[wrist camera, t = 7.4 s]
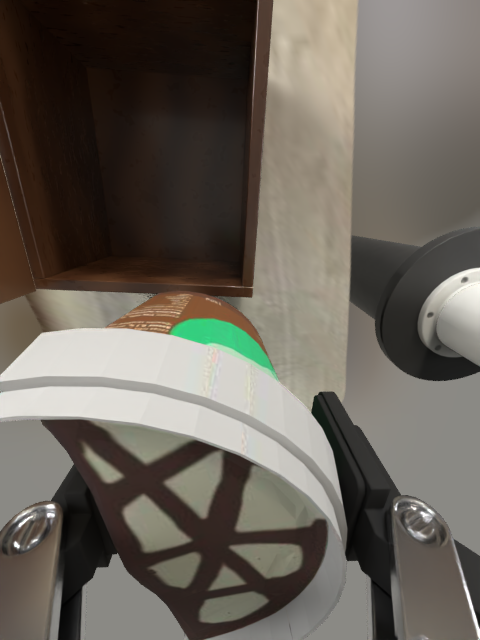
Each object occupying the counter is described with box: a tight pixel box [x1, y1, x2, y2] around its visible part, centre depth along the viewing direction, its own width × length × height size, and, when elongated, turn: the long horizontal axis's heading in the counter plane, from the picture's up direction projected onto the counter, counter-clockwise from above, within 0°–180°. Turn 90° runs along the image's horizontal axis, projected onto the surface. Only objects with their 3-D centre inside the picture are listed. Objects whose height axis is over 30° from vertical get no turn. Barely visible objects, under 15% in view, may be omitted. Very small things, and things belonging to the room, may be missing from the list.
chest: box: [0, 0, 273, 297], centre depth 21 cm, size 16×18×12 cm
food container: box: [0, 291, 347, 640], centre depth 10 cm, size 12×6×10 cm, turn 11°
